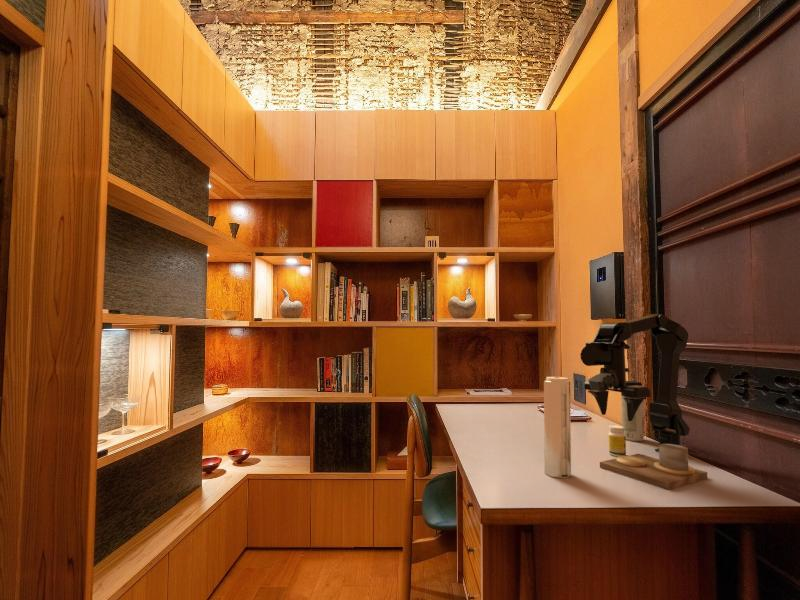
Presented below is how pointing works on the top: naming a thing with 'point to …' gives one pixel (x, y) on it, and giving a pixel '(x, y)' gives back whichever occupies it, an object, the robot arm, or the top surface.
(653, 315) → the robot arm
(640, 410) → the spray can
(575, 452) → the top surface
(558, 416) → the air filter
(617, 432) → the supplement bottle
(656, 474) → the board
